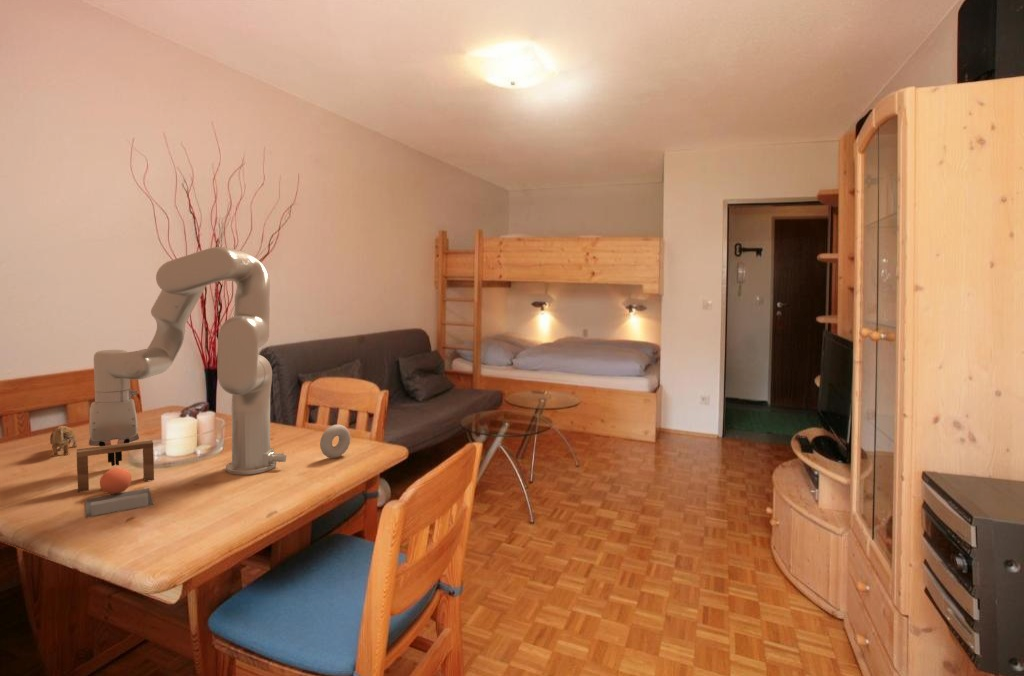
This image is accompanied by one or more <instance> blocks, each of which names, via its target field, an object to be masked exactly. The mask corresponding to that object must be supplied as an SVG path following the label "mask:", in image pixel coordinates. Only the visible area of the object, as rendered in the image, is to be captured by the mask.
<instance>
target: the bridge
mask: <svg viewBox="0 0 1024 676" xmlns="http://www.w3.org/2000/svg"><path fill="white" fill-rule="evenodd" d="M136 450H142V465H143V466H142V467H143V470H142V472H143V481H144V482H149V481H148V480H151V481H154V480H155V469H154V468H155V467H154V466H155V464H154V463H155V461H154V460H155V459H154V441H153V439H149V440H142V441H132V442H129V443H124V444H111V445H107V446H92V447H84V448H76V474H77V492H78V493H80V492H88V491H90V490H89V489H90V483H89V481H90V480H89V479H90V478H89V457H90V456H98V455H106V454H108V453H114V452H122V453H123V452H129V451H136Z"/></svg>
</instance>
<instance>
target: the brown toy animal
mask: <svg viewBox="0 0 1024 676" xmlns="http://www.w3.org/2000/svg"><path fill="white" fill-rule="evenodd" d="M49 439H50V441H49V443H50V445H51V447H52V448H51V449H52V452H53V454H52V455H51V458H55V457H54V456H56V457H58V455H59V453H58V452H60V451H63V455H64V456H69V455H71V453H70V452H69V447H70V446H69V445H70V444H71V442H72V445H71V447H72V448H77V447H78V445H77V439H76V433H75V430H74V429H73V427H69V426H65V425H60V426H57V427H56V428H54V429H53V430H52V432H51V434H50V438H49ZM68 454H69V455H68Z"/></svg>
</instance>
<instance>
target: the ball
mask: <svg viewBox="0 0 1024 676" xmlns="http://www.w3.org/2000/svg"><path fill="white" fill-rule="evenodd" d="M131 475H132V474H131V473H130V472H129V471H128V470H127V469H125V468H121V467H115V468H111V469H108V470H107V471H105V472H104V473H103V474H102V475H101V477H100V480H99V486H100V488H101V490H102V491H103V492H104V493H106V494H108V495H112V494H118V493H124V492H126V490H127V489H128V488H129V487H130V486H131V483H132V476H131Z"/></svg>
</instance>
